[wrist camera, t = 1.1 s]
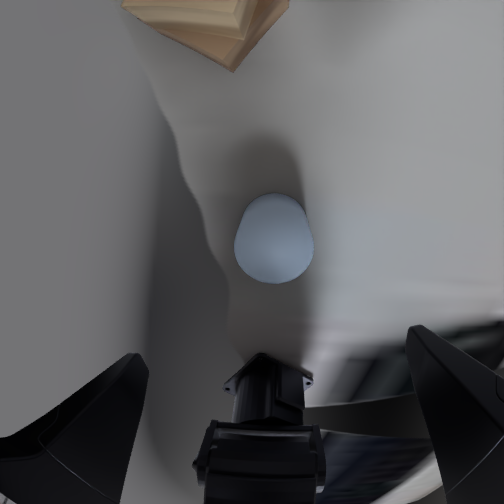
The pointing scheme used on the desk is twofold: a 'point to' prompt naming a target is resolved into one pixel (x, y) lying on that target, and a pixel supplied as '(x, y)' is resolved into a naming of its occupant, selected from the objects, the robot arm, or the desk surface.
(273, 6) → the base block
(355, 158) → the desk surface
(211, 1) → the top block
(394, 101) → the desk surface
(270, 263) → the cylinder
